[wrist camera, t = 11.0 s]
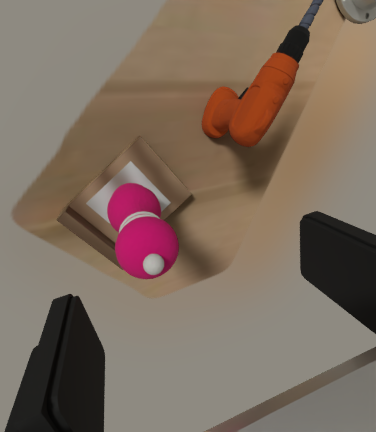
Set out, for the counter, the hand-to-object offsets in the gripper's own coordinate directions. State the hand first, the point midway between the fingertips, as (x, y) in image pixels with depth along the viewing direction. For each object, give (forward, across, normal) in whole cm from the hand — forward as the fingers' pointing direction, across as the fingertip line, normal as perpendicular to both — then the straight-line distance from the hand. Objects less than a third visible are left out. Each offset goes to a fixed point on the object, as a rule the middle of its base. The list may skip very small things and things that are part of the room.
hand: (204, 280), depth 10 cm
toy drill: (+32, -18, -8) cm, 38 cm away
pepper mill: (+30, +2, +5) cm, 30 cm away
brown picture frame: (+31, +2, +5) cm, 32 cm away
